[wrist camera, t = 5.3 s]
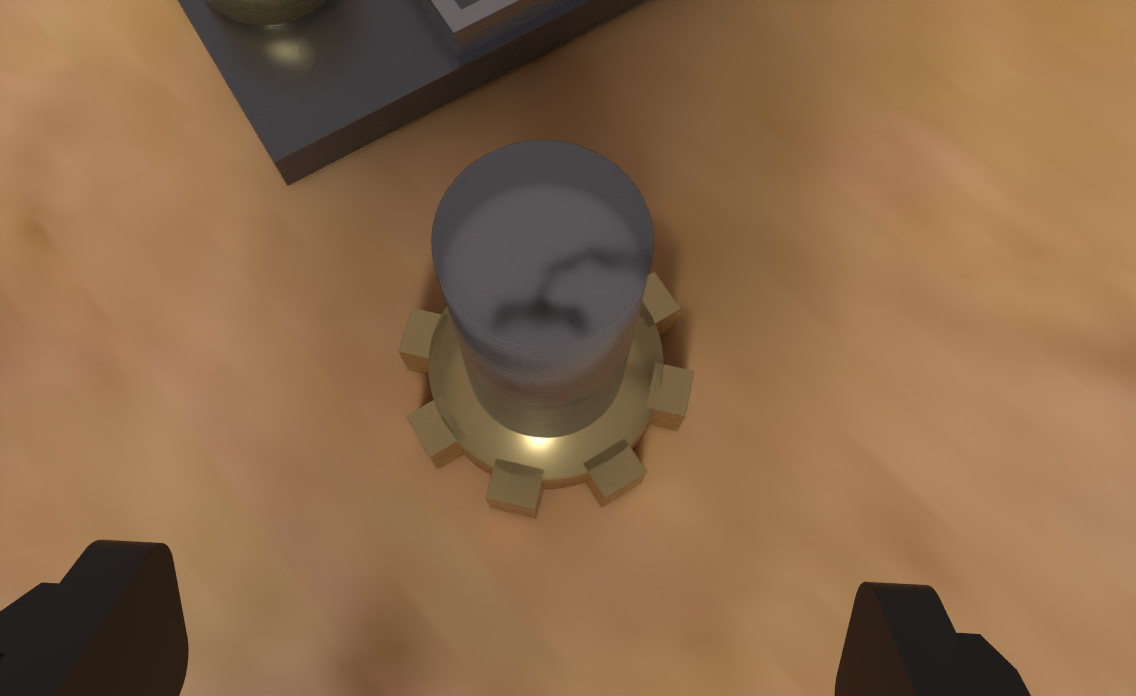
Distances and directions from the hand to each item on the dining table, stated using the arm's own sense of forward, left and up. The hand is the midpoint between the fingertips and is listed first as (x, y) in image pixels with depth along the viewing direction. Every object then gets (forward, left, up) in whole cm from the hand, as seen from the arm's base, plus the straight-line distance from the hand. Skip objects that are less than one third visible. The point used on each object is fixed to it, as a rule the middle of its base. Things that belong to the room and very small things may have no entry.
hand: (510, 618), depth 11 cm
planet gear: (-3, -5, -10) cm, 12 cm away
